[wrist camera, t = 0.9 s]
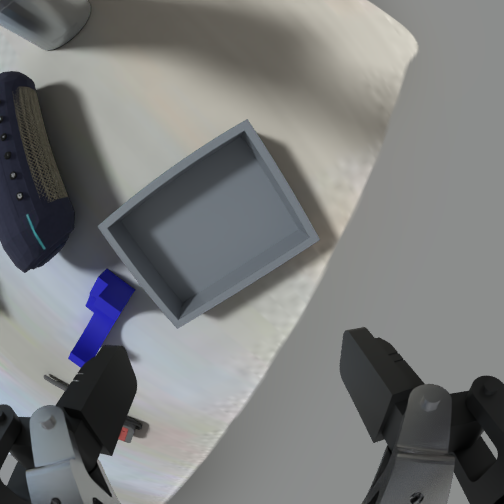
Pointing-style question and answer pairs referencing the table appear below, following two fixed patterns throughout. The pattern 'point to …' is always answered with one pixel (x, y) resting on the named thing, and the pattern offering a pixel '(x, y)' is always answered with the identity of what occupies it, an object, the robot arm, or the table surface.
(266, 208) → the bin
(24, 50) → the table surface
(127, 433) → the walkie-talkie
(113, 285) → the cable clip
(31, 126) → the portable speaker
